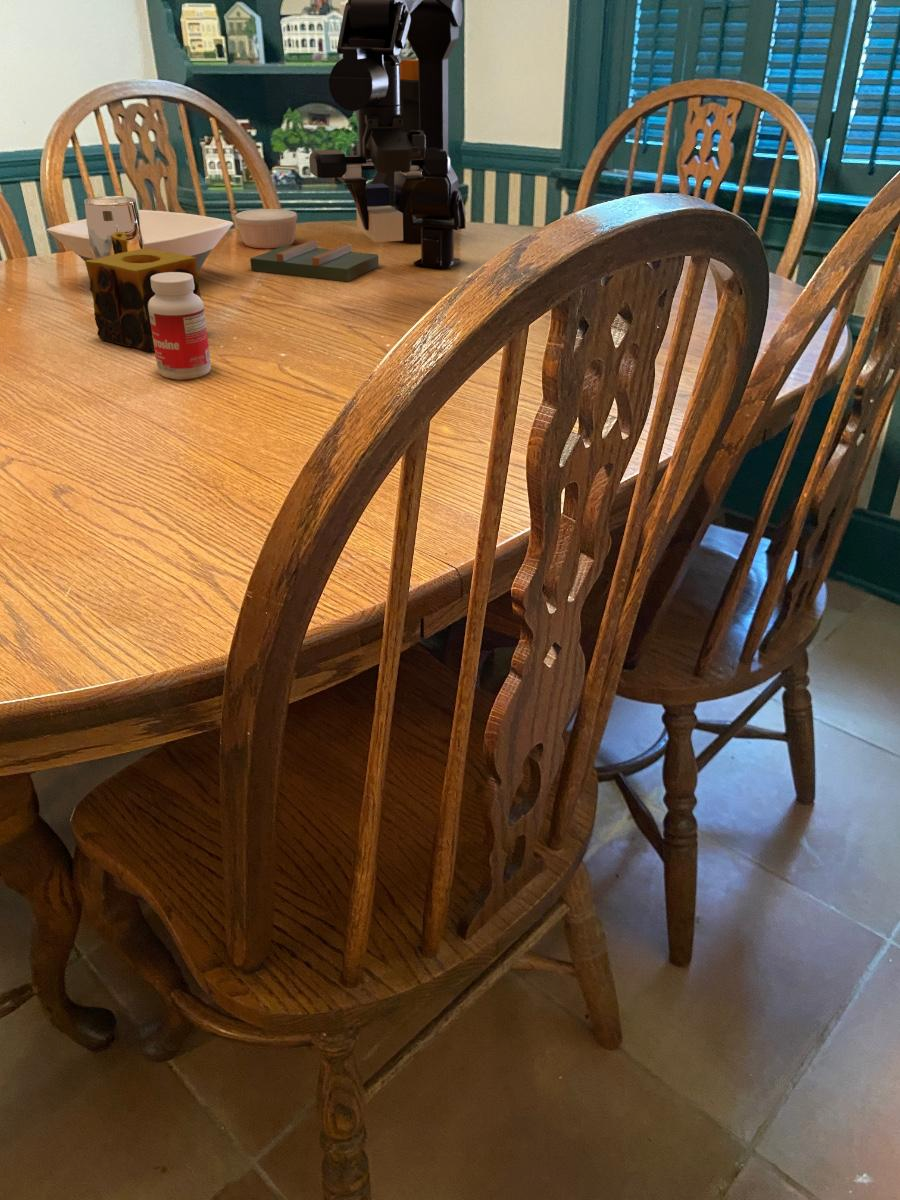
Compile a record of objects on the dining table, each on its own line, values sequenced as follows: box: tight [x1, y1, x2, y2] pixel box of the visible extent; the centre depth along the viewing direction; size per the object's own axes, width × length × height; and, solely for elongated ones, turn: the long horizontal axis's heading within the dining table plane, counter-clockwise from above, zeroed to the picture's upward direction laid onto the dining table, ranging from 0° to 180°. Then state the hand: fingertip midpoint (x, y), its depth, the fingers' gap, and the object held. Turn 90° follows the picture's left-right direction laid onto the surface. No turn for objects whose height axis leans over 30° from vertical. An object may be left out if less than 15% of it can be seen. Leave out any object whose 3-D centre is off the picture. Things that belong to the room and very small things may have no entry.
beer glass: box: [83, 195, 144, 259], centre depth 125 cm, size 7×7×15 cm
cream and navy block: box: [355, 183, 403, 243], centre depth 129 cm, size 10×4×6 cm, turn 19°
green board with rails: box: [249, 239, 379, 283], centre depth 153 cm, size 12×18×3 cm, turn 69°
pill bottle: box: [148, 272, 212, 381], centre depth 105 cm, size 6×6×11 cm
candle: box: [84, 249, 202, 353], centre depth 117 cm, size 10×10×10 cm
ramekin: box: [234, 208, 298, 249], centre depth 169 cm, size 11×11×5 cm
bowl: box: [46, 209, 234, 274], centre depth 142 cm, size 22×23×8 cm
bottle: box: [370, 58, 421, 243], centre depth 170 cm, size 16×16×30 cm
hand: (381, 228), depth 129 cm, fingers closed on cream and navy block, 4 cm apart
